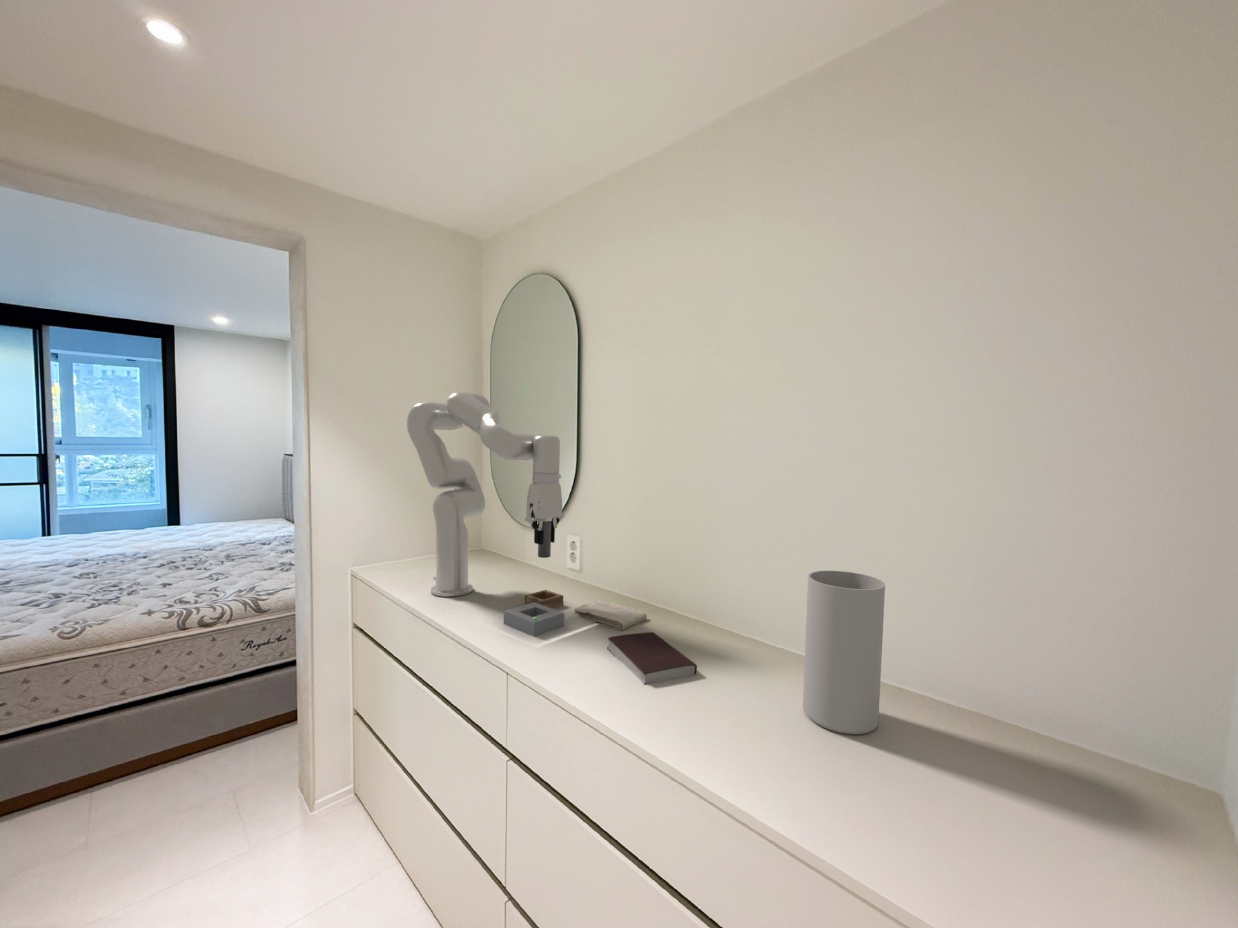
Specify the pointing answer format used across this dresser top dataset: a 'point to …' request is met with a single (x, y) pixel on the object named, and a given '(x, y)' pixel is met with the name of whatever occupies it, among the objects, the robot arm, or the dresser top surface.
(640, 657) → the book
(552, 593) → the holster
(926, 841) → the dresser top surface
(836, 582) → the cylinder vase
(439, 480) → the robot arm
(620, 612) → the washcloth
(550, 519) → the grey and white cylinder
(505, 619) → the port
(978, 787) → the dresser top surface
